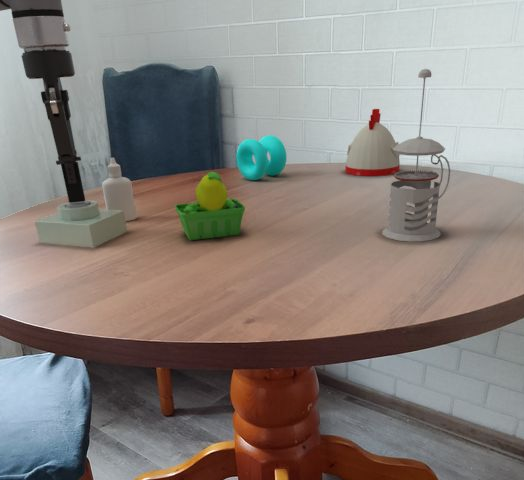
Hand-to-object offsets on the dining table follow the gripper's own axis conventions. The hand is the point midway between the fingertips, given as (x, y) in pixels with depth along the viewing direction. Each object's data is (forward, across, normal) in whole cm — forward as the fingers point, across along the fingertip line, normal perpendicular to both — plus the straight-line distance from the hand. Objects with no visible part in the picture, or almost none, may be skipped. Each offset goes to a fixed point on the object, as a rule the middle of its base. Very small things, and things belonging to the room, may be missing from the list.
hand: (77, 200), depth 96 cm
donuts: (+7, +38, -44) cm, 59 cm away
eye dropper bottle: (+7, +10, -7) cm, 14 cm away
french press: (+7, -21, -56) cm, 60 cm away
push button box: (+7, 0, 0) cm, 7 cm away
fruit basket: (+7, -8, -22) cm, 25 cm away
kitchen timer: (+7, +33, -72) cm, 80 cm away
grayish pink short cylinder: (+2, 0, 0) cm, 2 cm away
